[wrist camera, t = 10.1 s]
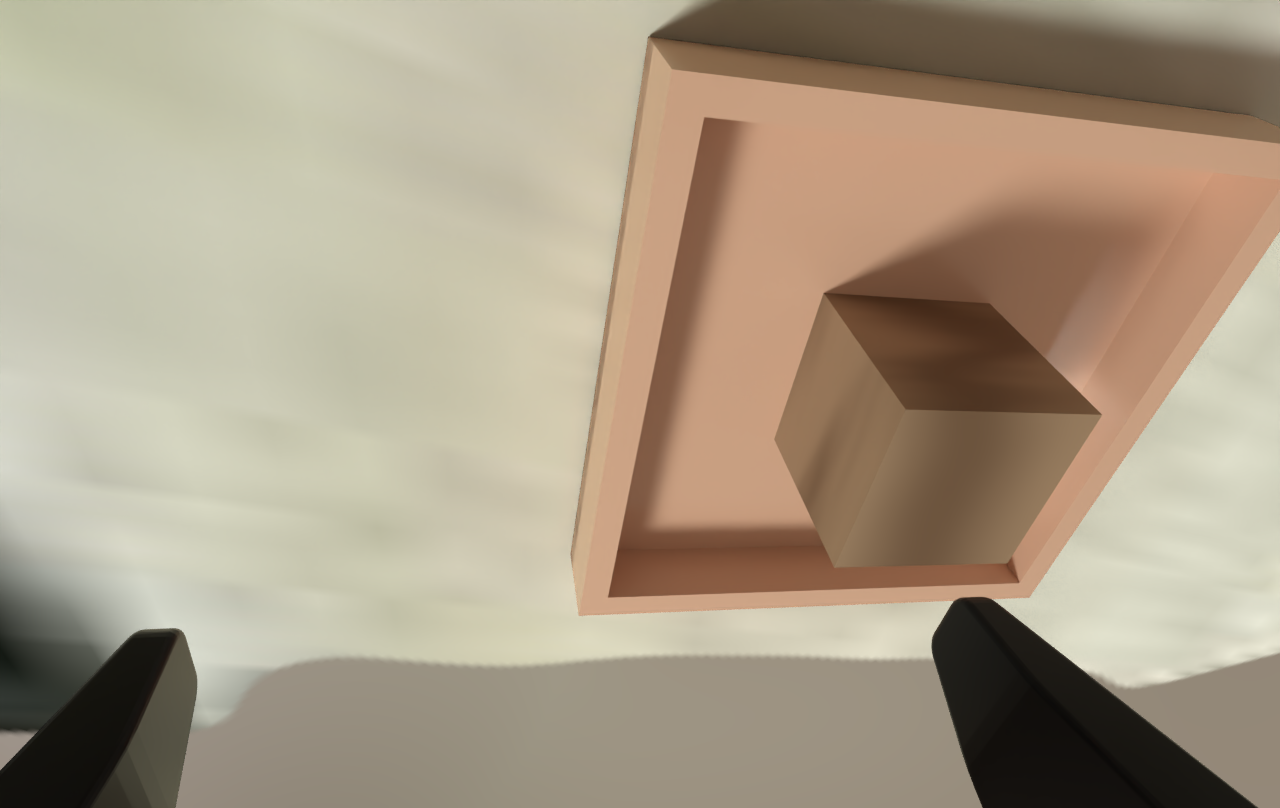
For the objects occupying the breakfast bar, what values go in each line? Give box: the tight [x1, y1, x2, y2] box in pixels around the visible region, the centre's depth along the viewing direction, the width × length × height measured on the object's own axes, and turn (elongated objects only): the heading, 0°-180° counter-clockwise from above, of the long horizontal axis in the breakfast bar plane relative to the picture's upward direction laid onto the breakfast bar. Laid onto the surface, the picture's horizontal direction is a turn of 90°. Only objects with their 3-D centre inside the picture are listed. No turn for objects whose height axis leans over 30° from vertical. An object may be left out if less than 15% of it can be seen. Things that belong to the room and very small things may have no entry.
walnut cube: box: [774, 293, 1102, 568], centre depth 21 cm, size 5×5×5 cm
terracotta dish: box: [571, 37, 1280, 616], centre depth 22 cm, size 16×16×2 cm
